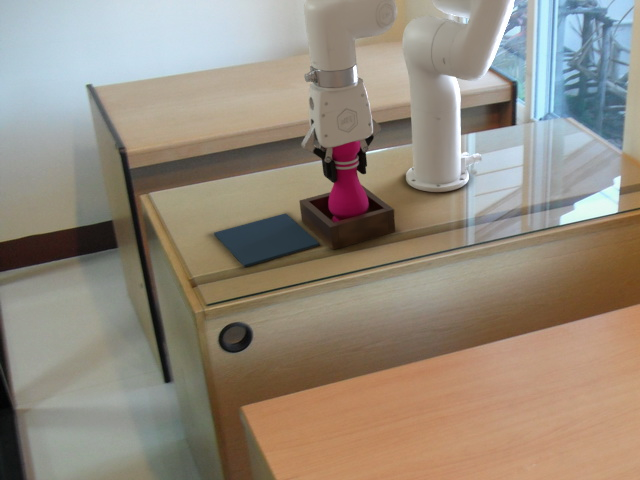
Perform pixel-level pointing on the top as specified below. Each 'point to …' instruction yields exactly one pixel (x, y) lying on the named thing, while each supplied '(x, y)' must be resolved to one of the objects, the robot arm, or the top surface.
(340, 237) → the stand
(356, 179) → the pepper mill
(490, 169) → the top surface
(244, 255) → the mat
